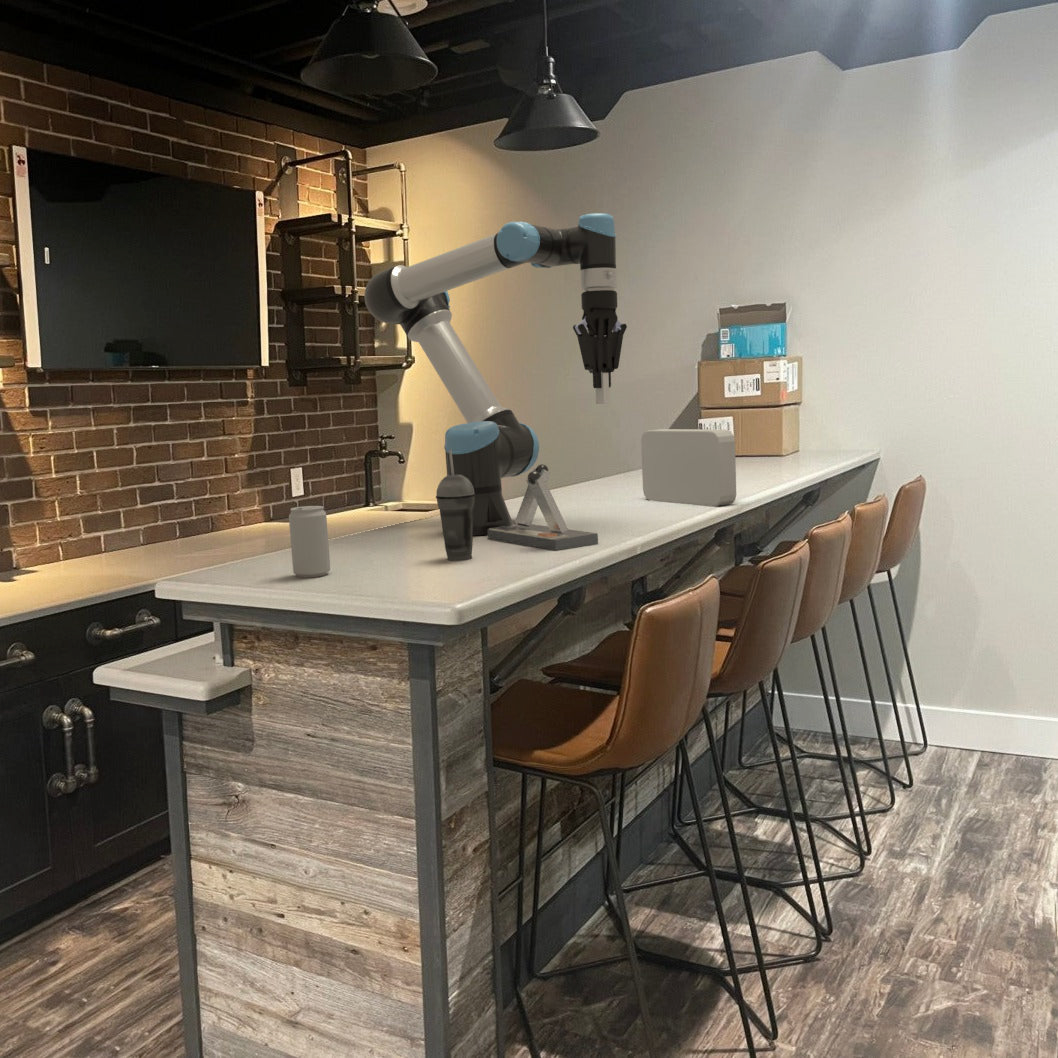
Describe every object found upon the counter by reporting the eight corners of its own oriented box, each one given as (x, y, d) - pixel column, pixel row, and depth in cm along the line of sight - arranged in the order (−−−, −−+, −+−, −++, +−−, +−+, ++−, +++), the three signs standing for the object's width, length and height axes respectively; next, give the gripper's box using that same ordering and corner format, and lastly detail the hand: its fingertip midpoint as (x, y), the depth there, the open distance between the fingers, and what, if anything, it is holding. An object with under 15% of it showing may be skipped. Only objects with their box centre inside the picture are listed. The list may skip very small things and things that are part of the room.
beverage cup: (449, 563, 185) (441, 452, 182) (433, 558, 192) (426, 450, 189) (485, 558, 188) (479, 448, 186) (469, 553, 195) (462, 447, 192)
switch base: (527, 532, 218) (527, 520, 218) (598, 543, 199) (597, 530, 198) (487, 538, 213) (486, 526, 212) (555, 550, 193) (554, 536, 193)
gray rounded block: (744, 504, 248) (742, 428, 246) (720, 507, 244) (718, 431, 242) (665, 496, 272) (663, 428, 270) (643, 500, 268) (640, 430, 265)
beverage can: (296, 573, 184) (290, 506, 182) (332, 570, 184) (327, 503, 183) (291, 579, 177) (285, 510, 176) (329, 577, 178) (323, 508, 176)
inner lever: (522, 526, 214) (543, 467, 215) (532, 527, 211) (554, 467, 212) (512, 521, 212) (534, 462, 214) (522, 523, 209) (544, 462, 211)
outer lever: (558, 526, 201) (531, 467, 197) (569, 528, 198) (542, 468, 194) (549, 533, 200) (521, 475, 195) (560, 535, 197) (532, 475, 193)
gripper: (585, 288, 210) (589, 405, 213) (634, 289, 217) (637, 402, 221) (563, 291, 216) (567, 405, 219) (611, 292, 223) (615, 402, 227)
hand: (602, 403), depth 220 cm, fingers closed
